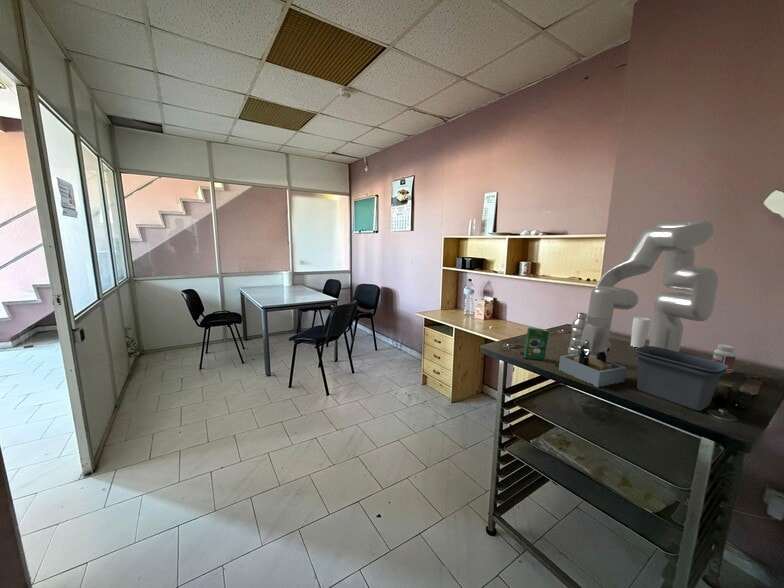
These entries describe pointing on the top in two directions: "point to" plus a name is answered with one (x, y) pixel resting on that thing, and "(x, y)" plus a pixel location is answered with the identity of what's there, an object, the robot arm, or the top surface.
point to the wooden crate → (596, 364)
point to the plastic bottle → (577, 333)
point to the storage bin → (678, 376)
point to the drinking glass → (639, 331)
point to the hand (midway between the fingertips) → (591, 366)
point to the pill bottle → (725, 356)
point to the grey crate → (592, 371)
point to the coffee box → (536, 343)
